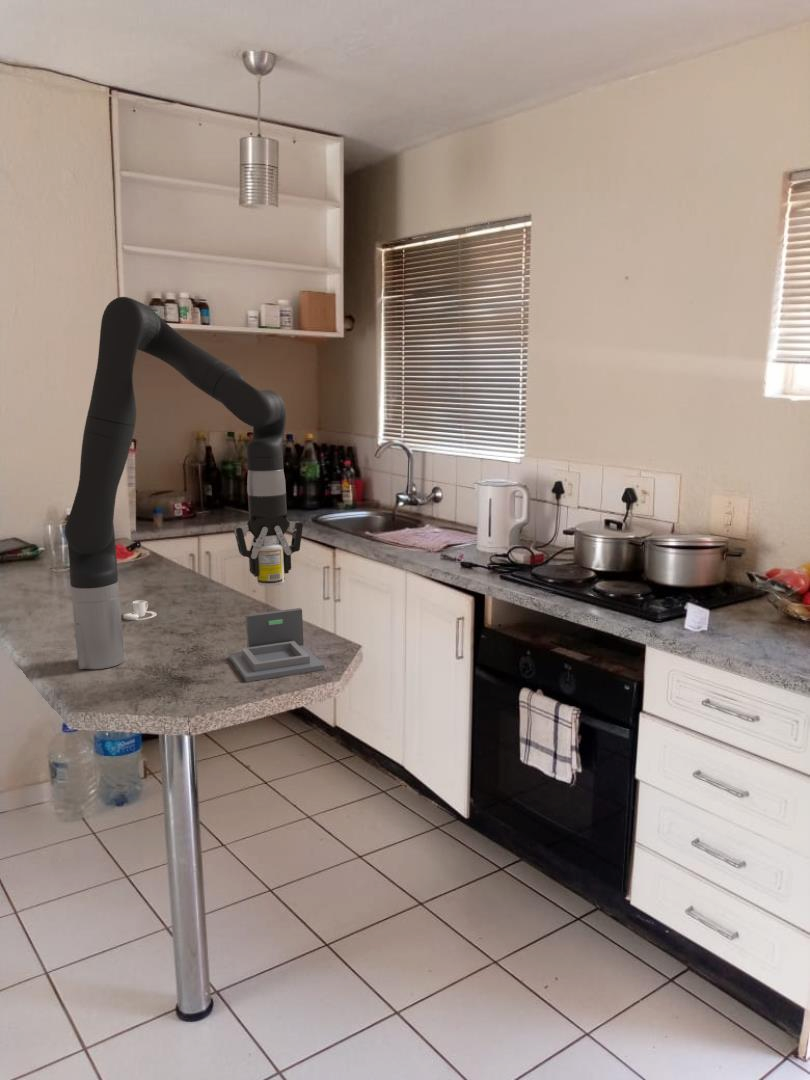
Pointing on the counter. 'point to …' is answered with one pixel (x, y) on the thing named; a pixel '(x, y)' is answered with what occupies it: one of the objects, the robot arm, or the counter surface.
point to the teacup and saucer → (139, 611)
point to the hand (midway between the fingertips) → (271, 573)
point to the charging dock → (274, 647)
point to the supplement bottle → (271, 562)
